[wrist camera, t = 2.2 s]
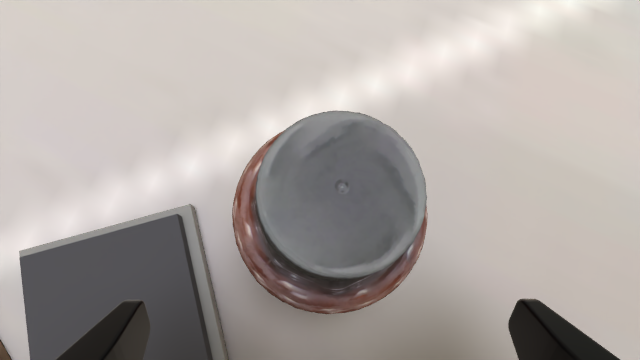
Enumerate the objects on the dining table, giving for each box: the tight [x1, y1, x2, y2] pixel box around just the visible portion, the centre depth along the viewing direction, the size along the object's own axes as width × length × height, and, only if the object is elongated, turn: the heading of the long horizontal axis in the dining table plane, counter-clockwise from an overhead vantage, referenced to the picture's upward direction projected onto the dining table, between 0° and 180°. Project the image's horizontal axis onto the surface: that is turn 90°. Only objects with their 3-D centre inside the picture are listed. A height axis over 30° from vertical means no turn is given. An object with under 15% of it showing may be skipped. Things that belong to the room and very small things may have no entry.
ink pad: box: [19, 204, 229, 360], centre depth 17 cm, size 8×8×2 cm
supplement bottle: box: [232, 111, 427, 314], centre depth 14 cm, size 6×6×11 cm
